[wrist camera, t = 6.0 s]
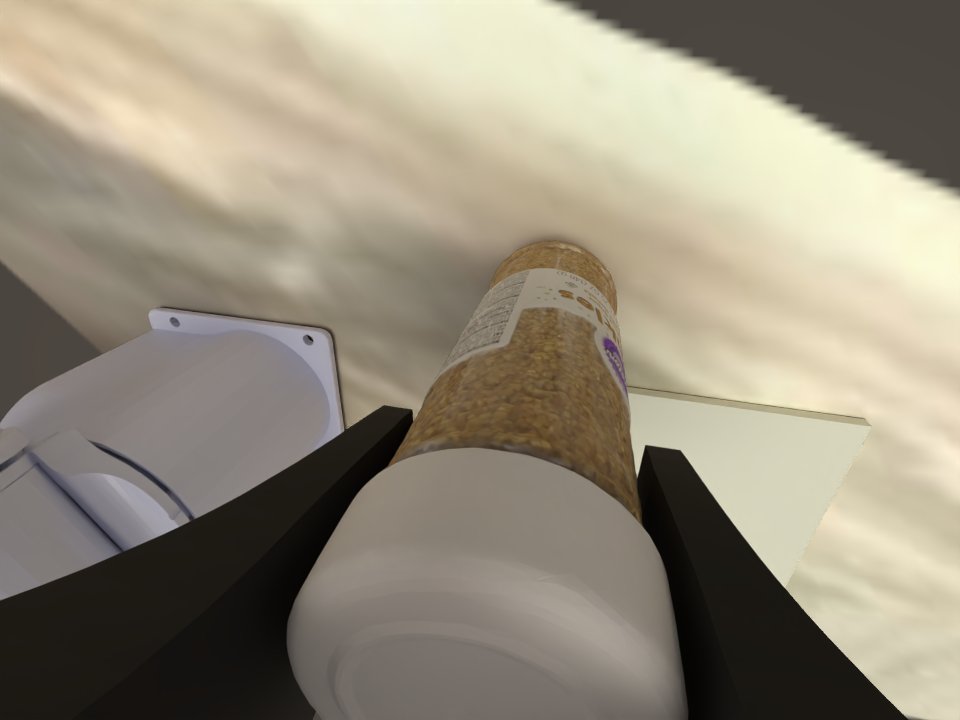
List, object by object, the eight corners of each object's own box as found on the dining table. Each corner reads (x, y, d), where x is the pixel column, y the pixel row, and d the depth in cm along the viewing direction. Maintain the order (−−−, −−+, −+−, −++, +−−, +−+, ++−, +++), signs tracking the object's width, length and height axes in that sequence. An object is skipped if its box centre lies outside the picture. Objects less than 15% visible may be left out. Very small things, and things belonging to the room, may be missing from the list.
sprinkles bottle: (642, 313, 16) (791, 816, 4) (538, 378, 18) (453, 845, 6) (563, 207, 15) (490, 505, 3) (462, 288, 17) (195, 653, 5)
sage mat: (528, 563, 26) (527, 571, 25) (551, 376, 20) (550, 382, 19) (763, 612, 24) (766, 621, 23) (865, 419, 18) (871, 426, 17)
